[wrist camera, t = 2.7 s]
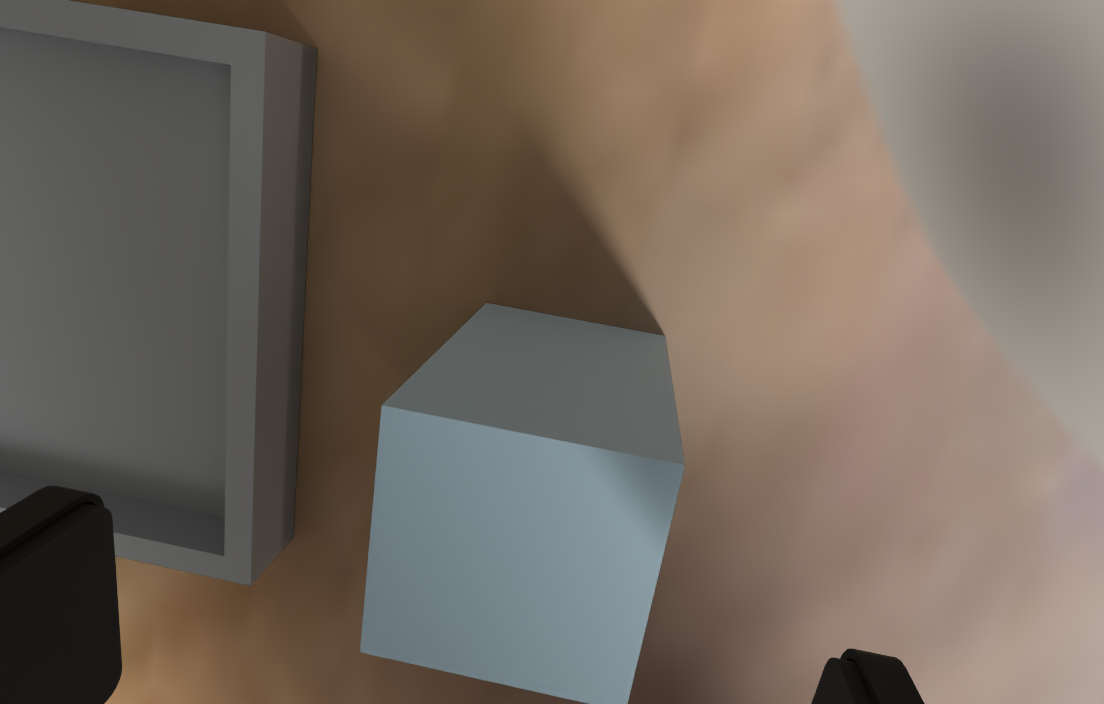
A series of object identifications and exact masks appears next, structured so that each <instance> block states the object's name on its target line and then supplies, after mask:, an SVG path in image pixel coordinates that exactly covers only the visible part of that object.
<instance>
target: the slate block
mask: <svg viewBox="0 0 1104 704" xmlns="http://www.w3.org/2000/svg"><path fill="white" fill-rule="evenodd" d="M684 467H685V462H684V456H683V449H682V443H681V436H680V429H679V423H678V416H677V410H676V403H675V397H674V390H673V384H672V377H671V371H670V364H669V358H668V351H667V345H666V338H665V336H663V335H658V334H652V333H647V332H642V331H636V330H631V329H625V328H620V327H615V326H609V325H604V324H598V323H593V322H587V321H582V320H577V319H571V318H566V317H560V316H555V315H549V314H544V313H539V312H533V311H528V310H522V309H517V308H511V307H506V306H501V305H495V304H490V303H486V304H485V305H484V306H482V307H481V308H480V309H479V310H478V311H477V312H476V313H475V314H474V315H473V316H472V317H471V318H470V319H469V320H468V321H467V322H466V323H465V324H464V325H463V326H462V327H461V328H460V329H459V330H458V331H457V332H456V333H455V334H454V335H453V336H452V337H451V338H450V339H449V340H448V341H447V342H446V343H445V344H444V345H443V346H442V347H441V348H440V349H439V350H438V351H437V352H435V353H434V354H433V355H432V356H431V357H430V358H429V359H428V360H427V361H426V362H425V363H424V364H423V365H422V366H421V367H420V368H419V369H418V370H417V371H416V372H415V373H414V374H413V375H412V376H411V377H410V378H409V379H408V380H407V381H406V382H405V383H404V384H403V385H402V386H401V387H400V388H399V389H398V390H397V391H396V392H395V393H394V394H393V395H392V396H391V397H390V398H389V399H387V400H386V401H385V402H384V403H383V404H382V406H381V418H380V429H379V440H378V452H377V463H376V475H375V486H374V497H373V509H372V520H371V531H370V543H369V554H368V566H367V577H366V588H365V600H364V611H363V622H362V634H361V645H360V652H361V653H366V654H370V655H374V656H379V657H383V658H388V659H392V660H397V661H401V662H405V663H410V664H414V665H419V666H423V667H428V668H432V669H437V670H441V671H445V672H450V673H454V674H459V675H463V676H468V677H472V678H477V679H481V680H485V681H490V682H494V683H499V684H503V685H508V686H512V687H516V688H521V689H525V690H530V691H534V692H539V693H543V694H548V695H552V696H556V697H561V698H565V699H570V700H574V701H579V702H583V703H588V704H628V700H629V695H630V691H631V687H632V683H633V679H634V675H635V671H636V666H637V662H638V658H639V654H640V650H641V646H642V642H643V637H644V633H645V629H646V625H647V621H648V617H649V613H650V608H651V604H652V600H653V596H654V592H655V588H656V583H657V579H658V575H659V571H660V567H661V563H662V559H663V554H664V550H665V546H666V542H667V538H668V534H669V530H670V525H671V521H672V517H673V513H674V509H675V505H676V500H677V496H678V492H679V488H680V484H681V480H682V476H683V471H684Z"/></svg>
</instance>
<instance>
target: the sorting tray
mask: <svg viewBox="0 0 1104 704" xmlns="http://www.w3.org/2000/svg"><path fill="white" fill-rule="evenodd" d="M316 61H317V48H314V47H311V46H308V45H305V44H302V43H299V42H296V41H292V40H289V39H286V38H283V37H280V36H277V35H274V34H271V33H268V32H265V31H259V30H252V29H246V28H240V27H233V26H227V25H221V24H215V23H208V22H202V21H196V20H190V19H183V18H177V17H171V16H164V15H158V14H152V13H146V12H139V11H133V10H127V9H121V8H114V7H108V6H102V5H95V4H89V3H83V2H77V1H70V0H0V513H1V512H2V511H4V510H6V509H7V508H9V507H11V506H12V505H14V504H16V503H17V502H19V501H21V500H22V499H24V498H26V497H27V496H29V495H31V494H32V493H34V492H36V491H37V490H39V489H42V488H44V487H46V486H60V487H65V488H70V489H75V490H80V491H85V492H89V493H94V494H96V495H98V496H100V498H101V499H102V500H103V503H104V507H105V508H107V509H109V511H110V512H111V514H112V518H113V532H114V548H115V556H117V557H121V558H126V559H130V560H135V561H140V562H144V563H149V564H153V565H158V566H162V567H167V568H171V569H176V570H180V571H185V572H189V573H194V574H198V575H203V576H208V577H212V578H217V579H221V580H226V581H230V582H235V583H239V584H244V585H248V586H251V585H252V584H253V583H254V582H255V580H256V579H257V578H258V577H259V576H260V575H261V574H262V573H263V572H264V570H265V569H266V568H267V567H268V566H269V565H270V564H271V563H272V561H273V560H274V559H275V558H276V557H277V556H278V555H279V554H280V553H281V551H282V550H283V549H284V548H285V547H286V546H287V545H288V544H289V543H290V541H291V540H292V539H293V534H294V513H295V493H296V472H297V452H298V431H299V411H300V390H301V369H302V349H303V328H304V308H305V287H306V267H307V246H308V226H309V205H310V184H311V164H312V143H313V123H314V102H315V82H316Z"/></svg>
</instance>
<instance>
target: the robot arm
mask: <svg viewBox="0 0 1104 704" xmlns="http://www.w3.org/2000/svg"><path fill="white" fill-rule="evenodd" d="M121 673H122V659H121V643H120V627H119V611H118V596H117V580H116V564H115V548H114V532H113V518H112V514H111V512H110V511H109V509H107V508H105V507H104V503H103V500H102V499H101V498H100V496H98V495H96V494H94V493H89V492H85V491H80V490H75V489H70V488H65V487H60V486H46V487H44V488H42V489H39V490H37V491H36V492H34V493H32V494H31V495H29V496H27V497H26V498H24V499H22V500H21V501H19V502H17V503H16V504H14V505H12V506H11V507H9V508H7V509H6V510H4V511H2V512H1V513H0V704H104V703H105V702H106V701H107V700H108V699H109V697H110V696H111V695H112V694H113V692H114V690H115V689H116V687H117V684H118V682H119V680H120V676H121ZM812 704H924V702H923V700H922V698H921V696H920V694H919V692H918V690H917V689H916V687H915V685H914V683H913V681H912V679H911V677H910V675H909V673H908V671H907V669H906V667H905V666H904V665H903V663H902V662H901V661H900V660H899V659H897V658H895V657H890V656H885V655H881V654H876V653H871V652H866V651H861V650H856V649H847V650H846V651H845V652H844V653H843V654H842V656H841V658H840V659H838V658H830V659H829V660H828V661H827V663H826V665H825V667H824V670H823V673H822V676H821V679H820V681H819V684H818V687H817V690H816V692H815V695H814V698H813V701H812Z"/></svg>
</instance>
